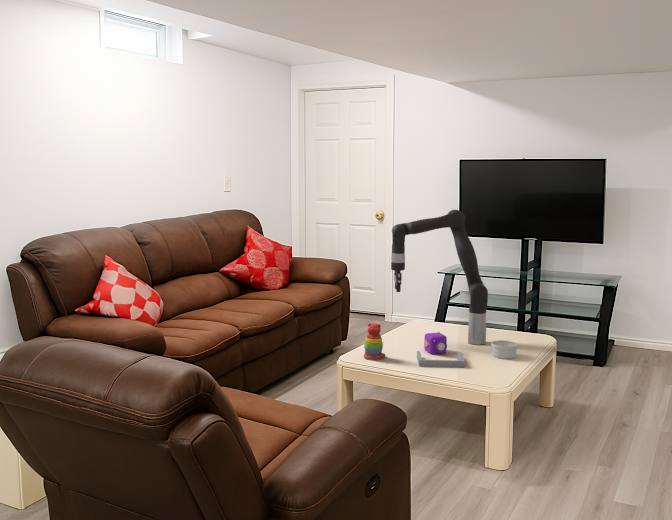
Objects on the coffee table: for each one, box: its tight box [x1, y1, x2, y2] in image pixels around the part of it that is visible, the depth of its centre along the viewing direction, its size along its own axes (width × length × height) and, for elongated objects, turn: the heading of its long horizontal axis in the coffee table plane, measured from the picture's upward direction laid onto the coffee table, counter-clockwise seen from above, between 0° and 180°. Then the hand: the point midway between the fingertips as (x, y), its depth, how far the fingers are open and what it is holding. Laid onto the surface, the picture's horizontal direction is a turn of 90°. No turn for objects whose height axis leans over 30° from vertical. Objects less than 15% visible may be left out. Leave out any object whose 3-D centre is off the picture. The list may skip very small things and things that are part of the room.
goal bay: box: [416, 350, 466, 368], centre depth 348 cm, size 22×16×3 cm
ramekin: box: [490, 339, 519, 360], centre depth 360 cm, size 13×13×7 cm
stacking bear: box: [363, 322, 387, 361], centre depth 354 cm, size 11×10×18 cm
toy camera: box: [423, 331, 448, 355], centre depth 365 cm, size 11×14×10 cm
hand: (397, 290), depth 384 cm, fingers open, 8 cm apart
